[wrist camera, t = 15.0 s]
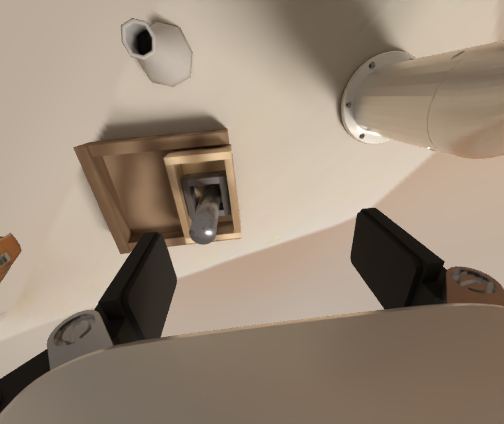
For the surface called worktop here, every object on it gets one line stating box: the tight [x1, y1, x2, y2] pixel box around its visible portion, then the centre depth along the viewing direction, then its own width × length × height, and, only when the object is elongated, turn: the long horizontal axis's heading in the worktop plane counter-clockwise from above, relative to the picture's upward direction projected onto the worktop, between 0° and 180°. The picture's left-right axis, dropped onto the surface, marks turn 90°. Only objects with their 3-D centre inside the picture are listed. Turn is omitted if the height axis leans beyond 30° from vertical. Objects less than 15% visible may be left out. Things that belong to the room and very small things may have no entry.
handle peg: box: [189, 184, 221, 244], centre depth 31 cm, size 3×3×13 cm
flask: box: [121, 18, 192, 87], centre depth 26 cm, size 7×7×10 cm
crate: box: [164, 144, 241, 244], centre depth 35 cm, size 9×14×5 cm, turn 5°
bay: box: [74, 129, 240, 254], centre depth 37 cm, size 21×18×4 cm
